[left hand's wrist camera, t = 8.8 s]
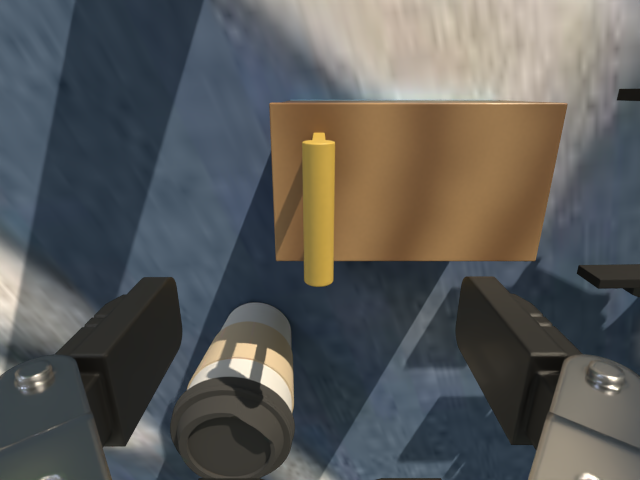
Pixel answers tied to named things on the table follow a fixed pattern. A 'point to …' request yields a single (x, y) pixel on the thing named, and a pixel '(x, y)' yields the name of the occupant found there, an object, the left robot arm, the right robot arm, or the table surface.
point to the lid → (410, 181)
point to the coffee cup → (239, 399)
